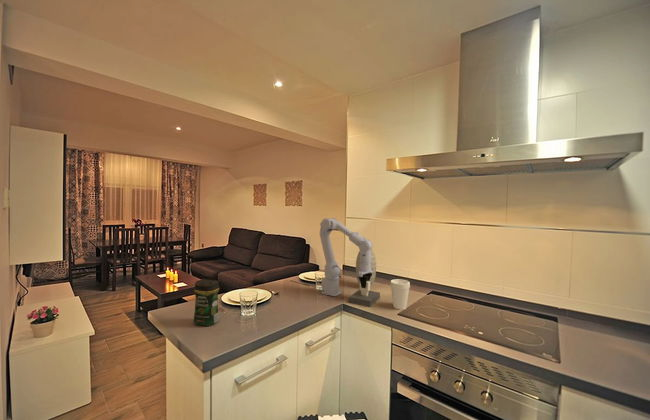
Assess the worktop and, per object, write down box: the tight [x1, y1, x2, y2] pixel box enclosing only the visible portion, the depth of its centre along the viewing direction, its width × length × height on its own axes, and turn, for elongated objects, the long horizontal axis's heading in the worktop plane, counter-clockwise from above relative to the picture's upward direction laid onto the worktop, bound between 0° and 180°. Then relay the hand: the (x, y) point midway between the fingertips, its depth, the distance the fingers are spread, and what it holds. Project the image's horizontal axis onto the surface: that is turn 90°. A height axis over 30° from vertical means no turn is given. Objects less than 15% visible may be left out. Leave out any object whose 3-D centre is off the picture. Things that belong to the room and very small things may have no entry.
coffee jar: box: [193, 278, 220, 327], centre depth 115 cm, size 10×8×19 cm
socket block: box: [348, 288, 381, 308], centre depth 146 cm, size 12×16×3 cm
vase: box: [355, 248, 377, 289], centre depth 169 cm, size 13×13×28 cm
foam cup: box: [390, 278, 411, 310], centre depth 136 cm, size 10×9×13 cm
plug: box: [359, 281, 371, 296], centre depth 146 cm, size 5×3×8 cm
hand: (364, 287), depth 146 cm, fingers closed on plug, 3 cm apart
